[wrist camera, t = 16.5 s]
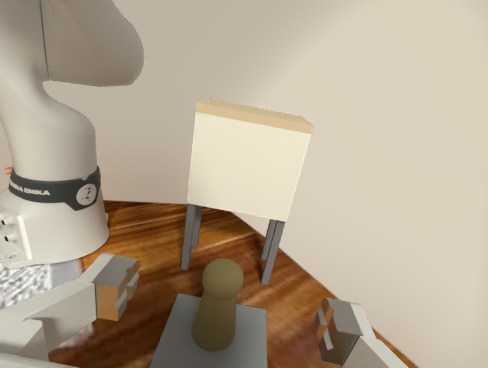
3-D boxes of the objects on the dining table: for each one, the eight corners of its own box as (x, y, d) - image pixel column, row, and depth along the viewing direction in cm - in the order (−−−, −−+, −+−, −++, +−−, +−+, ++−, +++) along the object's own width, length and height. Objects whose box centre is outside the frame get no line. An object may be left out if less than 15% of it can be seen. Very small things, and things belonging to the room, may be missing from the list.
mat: (268, 479, 23) (270, 475, 22) (117, 452, 23) (117, 448, 22) (264, 313, 40) (265, 309, 39) (177, 296, 39) (178, 293, 39)
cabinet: (267, 289, 44) (313, 125, 33) (179, 272, 44) (196, 102, 33) (266, 253, 54) (302, 116, 43) (193, 240, 53) (210, 99, 43)
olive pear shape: (196, 308, 37) (204, 248, 33) (236, 314, 37) (249, 255, 33) (187, 348, 31) (195, 282, 27) (234, 354, 32) (249, 289, 28)
